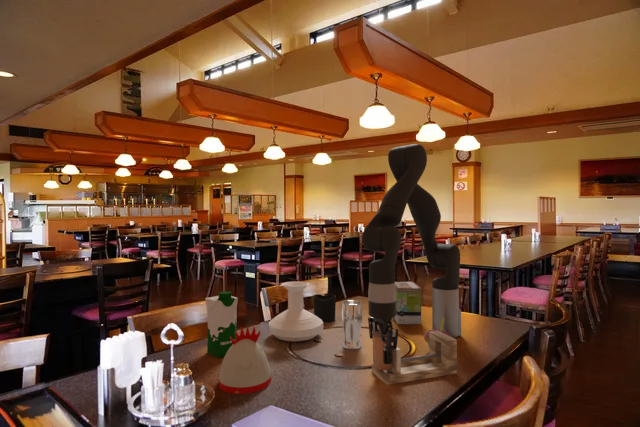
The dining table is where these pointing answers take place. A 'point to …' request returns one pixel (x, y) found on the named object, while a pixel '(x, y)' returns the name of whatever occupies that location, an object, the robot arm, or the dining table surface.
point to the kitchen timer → (245, 365)
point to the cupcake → (426, 336)
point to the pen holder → (325, 307)
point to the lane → (426, 362)
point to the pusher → (406, 359)
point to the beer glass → (351, 323)
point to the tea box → (408, 303)
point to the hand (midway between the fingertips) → (382, 359)
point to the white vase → (295, 317)
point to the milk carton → (221, 323)
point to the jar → (379, 352)
